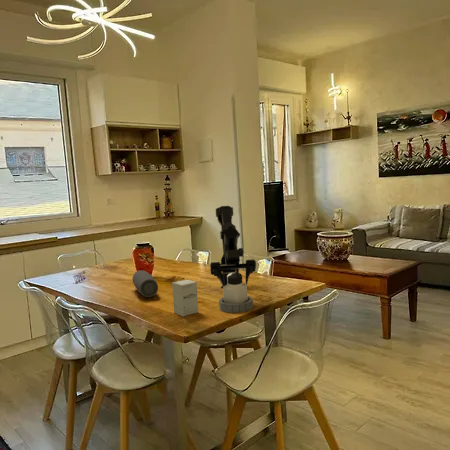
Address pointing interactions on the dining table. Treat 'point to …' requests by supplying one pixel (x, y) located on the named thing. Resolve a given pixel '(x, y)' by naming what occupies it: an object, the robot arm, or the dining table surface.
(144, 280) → the bluetooth speaker
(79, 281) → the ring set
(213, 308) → the dining table surface
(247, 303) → the round dish
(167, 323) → the dining table surface
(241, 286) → the medicine bottle
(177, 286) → the supplement box
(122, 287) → the dining table surface
